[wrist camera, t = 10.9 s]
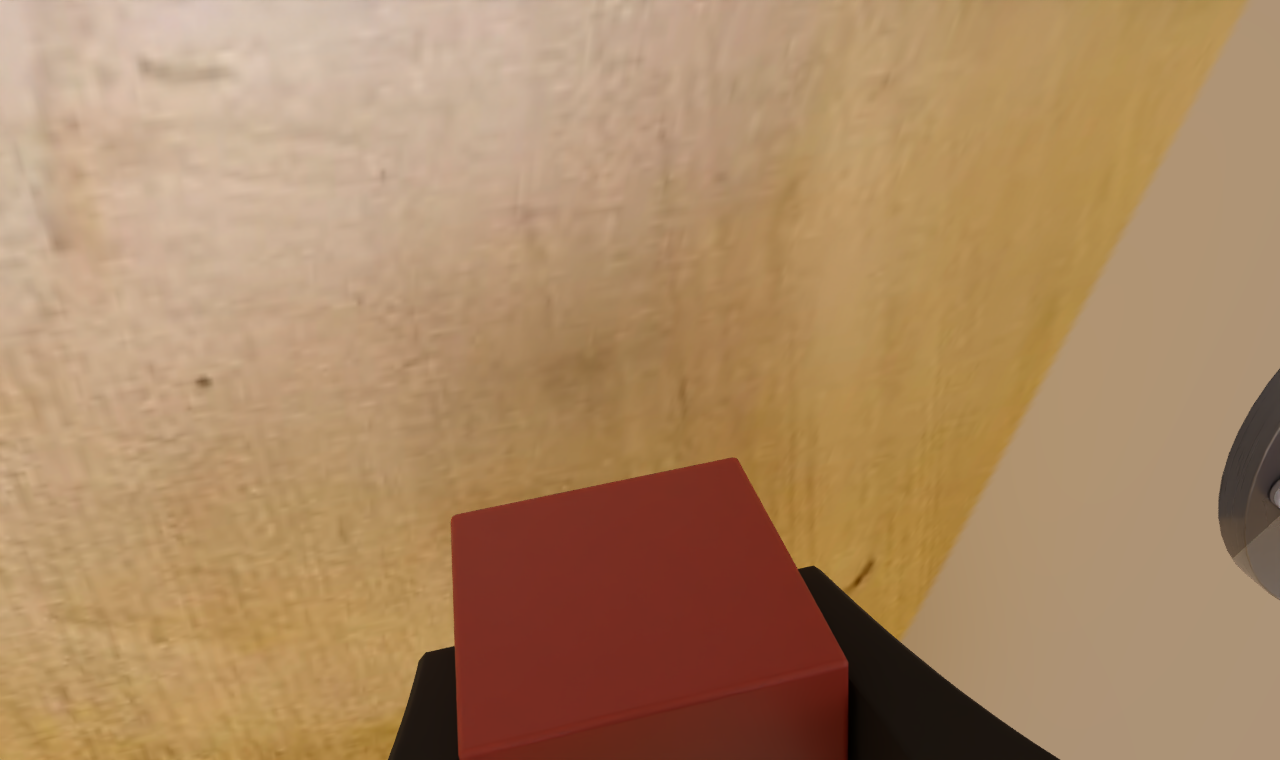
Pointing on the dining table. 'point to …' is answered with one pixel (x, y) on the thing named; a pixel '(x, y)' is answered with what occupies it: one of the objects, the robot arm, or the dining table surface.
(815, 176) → the dining table surface
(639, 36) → the dining table surface
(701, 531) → the block
